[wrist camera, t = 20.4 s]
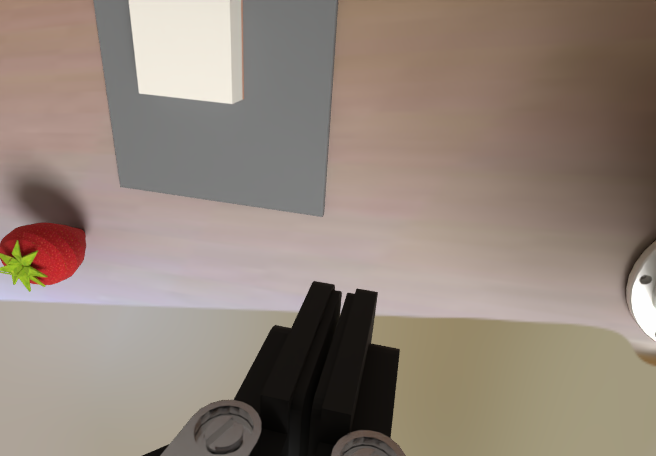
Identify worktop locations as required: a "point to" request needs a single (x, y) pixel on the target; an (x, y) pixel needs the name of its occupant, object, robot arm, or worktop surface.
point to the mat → (232, 113)
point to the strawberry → (42, 253)
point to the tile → (189, 48)
